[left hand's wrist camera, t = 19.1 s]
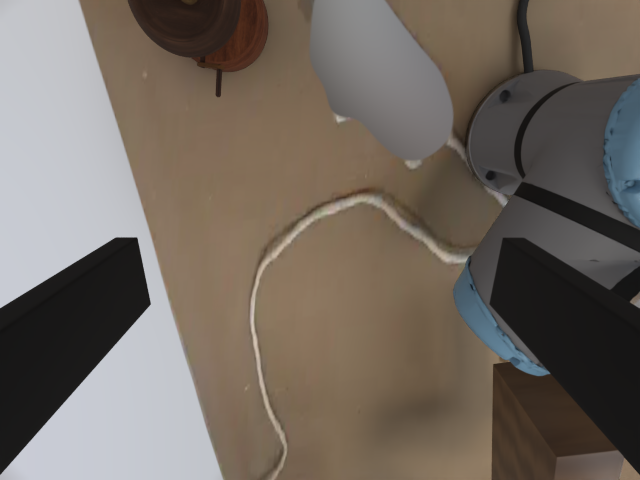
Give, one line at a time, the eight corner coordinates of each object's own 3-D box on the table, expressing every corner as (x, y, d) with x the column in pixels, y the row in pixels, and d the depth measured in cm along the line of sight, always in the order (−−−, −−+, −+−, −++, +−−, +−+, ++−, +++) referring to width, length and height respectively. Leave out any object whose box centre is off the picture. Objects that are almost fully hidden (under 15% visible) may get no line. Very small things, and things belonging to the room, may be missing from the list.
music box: (165, -51, 37) (40, -216, 18) (265, -46, 38) (243, -199, 19) (183, 99, 42) (100, 88, 24) (271, 100, 43) (258, 91, 25)
